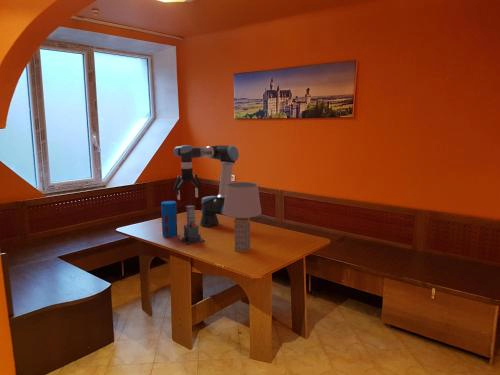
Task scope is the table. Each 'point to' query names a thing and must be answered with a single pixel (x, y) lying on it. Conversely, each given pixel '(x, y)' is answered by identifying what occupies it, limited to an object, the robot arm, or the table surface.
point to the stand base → (191, 235)
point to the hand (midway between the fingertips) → (187, 198)
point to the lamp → (242, 210)
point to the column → (190, 215)
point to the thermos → (169, 219)
